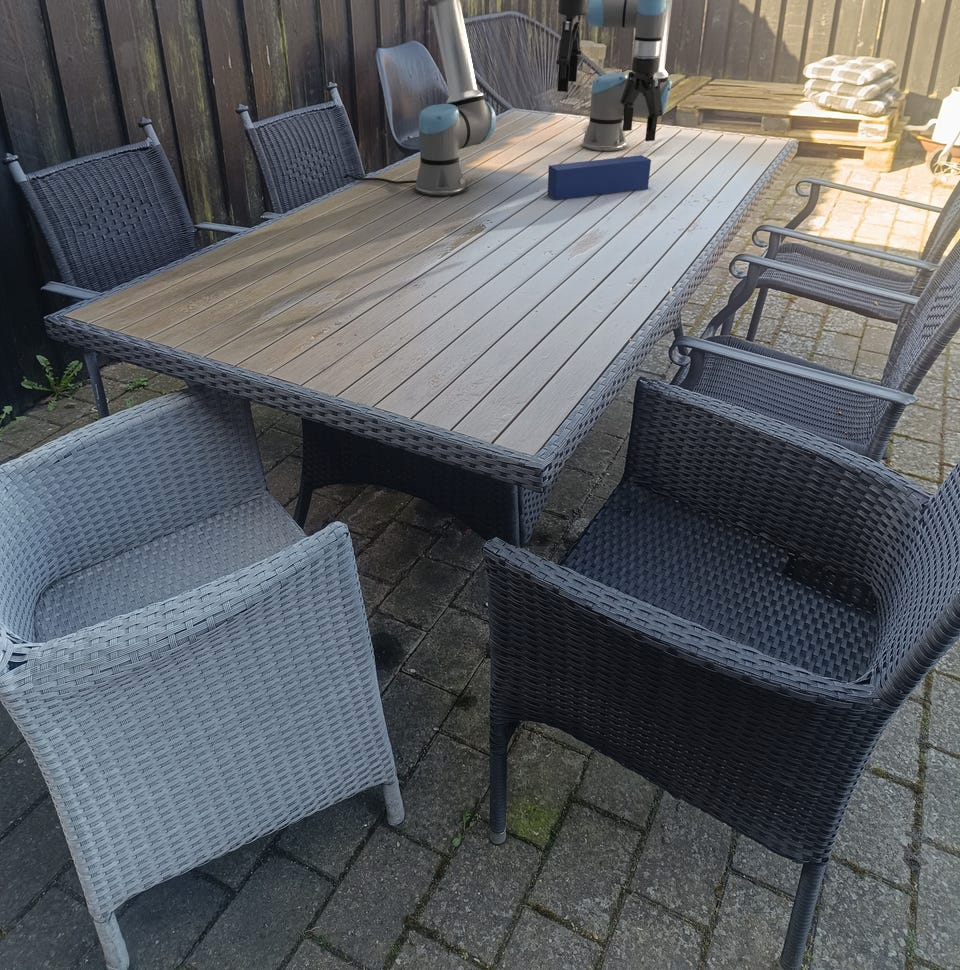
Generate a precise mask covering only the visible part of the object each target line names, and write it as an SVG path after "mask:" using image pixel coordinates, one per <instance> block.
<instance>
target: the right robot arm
mask: <svg viewBox="0 0 960 970" xmlns="http://www.w3.org/2000/svg"><path fill="white" fill-rule="evenodd" d="M672 6H673V0H588V6H587V14H586V15H587V16H586V17H587V18H586V19H587V20H586V21H587V25H588V26H589V27H595V28H601V29H602V28H619V29H621V28H623V29H635V35H634V41H633V50H632V51H633V53H632V55H633V58H632V64H631V71H629V72H628V74H626V73H621V72H616V73H615V72H614V73H607V74H602V75H599V76H597V77H595V78H594V79H593V81H592V86H591V91H590V94H591V96H590V97H591V98H590V108H589V109H590V111H589V122H588V126H587V128H586V131H585V133H584V136H583V138H582V146H583V148H585V149H586V150H587V149H588V150H591V151H597V152H617V151H622V150H624V149H626V147H627V139H626V134H625V132H629V131H632V128H633V120H634V119H633V117H642V118H647V120H646V121H647V122H646V131H645V138H644V139H645V142H654V141H656V131H657V125H658V118H660V117H661V118H662V116H664V115H665V112H666V108H667V105H668V100H669V97H670V93H671V88H672V84H673V83H672V80H670V79H669V73H668V72H667V71H666V69H665V67H666V59H667V52H668V51H667V49H668V42H669V41H668V40H669V32H670V25H671V17H672V16H671V15H672Z"/></svg>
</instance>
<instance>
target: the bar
mask: <svg viewBox="0 0 960 970" xmlns="http://www.w3.org/2000/svg"><path fill="white" fill-rule="evenodd" d="M651 165H652V159H650V158H649V157H647V156H644V155H642V154H639V155H630V156H623V157H621V158H617V157H613V158H604V159H595V160H593V159H592V160H586V161H585V160H584V161H577V162H567V163H559V164H549V165H548V174H547V194H546V195H547V196H549V197H550V198H552V200H554V201H559V200H568V199H577V198H584V197H592V196H599V195H600V196H601V195H608V194H617V193H625V192H632V191H641V190H648V189H649V183H650V174H651Z"/></svg>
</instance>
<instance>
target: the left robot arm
mask: <svg viewBox="0 0 960 970" xmlns="http://www.w3.org/2000/svg"><path fill="white" fill-rule="evenodd" d="M423 1H424V3H425V4H426V5H428V6H429V8H430V9H431V14H432V18H433V23H434V29H435V33H436V37H437V41H438V47H439V52H440V56H441V61H442V66H443V71H444V76H445V80H446V86H447V90H448V98H447V100H446V101H445V103H439V104H431V105H429V106H426V107H424V108H423V109H422V110H421V111H420V112H419V114H418V115H419V116H418V126H417V127H418V137H419V138H418V139H419V157H420V158H419V159H420V161H419V162H420V164H419V168H418V172H417V176H416V179H415V180H414V179H413V180H392V179H388V178H382V177H359V176H355V175H353V174H350V173H347V174H345V175H344V176H343V177H342V179H346V178H351V179H354V180H356V181H378V182H379V181H380V182H386V183H390V184H396V185H397V184H398V185H402V184H415V185H414V186H415V192H417V193H418V194H420V195H424V196H430V197H450V196H455V195H459V194H461V193H463V192H464V191H466V177H465V176H463V172H462V169H461V165H460V150H462V149H465V148H469V147H472V146H477V145H481V144H482V143H485V142H487V141H488V140H489V139H491V137H492V136H493V133H494V132H495V130H496V125H497V117H496V113H495V109H494V108H493V106H491V104H490V103H489V102H487V101H486V100H485V95H484V93H483V92H482V91H480V90H479V89H478V86H477V80H476V76H475V71H474V66H473V60H472V55H471V50H470V44H469V40H468V36H467V30H466V25H465V20H464V15H463V10H462V9H463V8H462V5H461V0H423ZM588 4H589V0H558V7H557V12H558V14H559V15H562V16H565V20H563V21H562V24H561V25H562V27H561V36H560V43H559V51H558V58H557V60H556V61H555V65H558V73H557V74H558V76H557V89H556V91H557V92H562V93H568V92H569V82H574V83H576V82H577V80H578V79H577V77H578V65H579V56H581V55H582V50H581V19H582V16H585V15H587V14H588Z"/></svg>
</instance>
